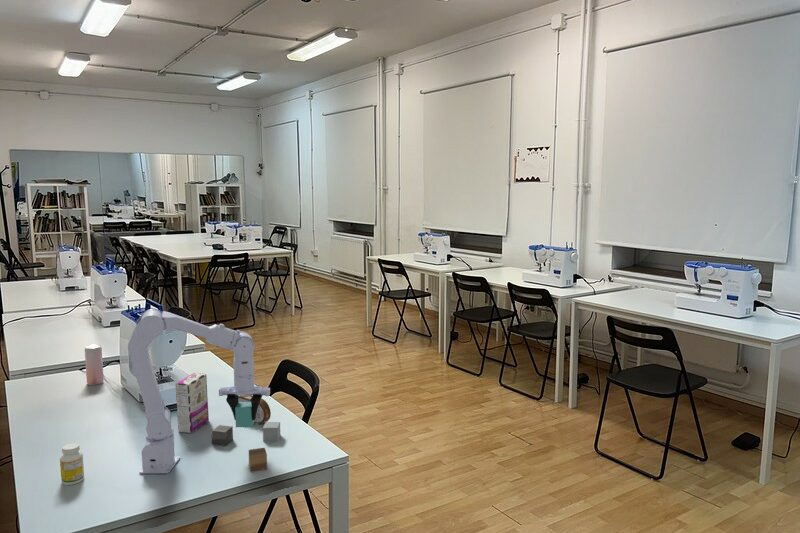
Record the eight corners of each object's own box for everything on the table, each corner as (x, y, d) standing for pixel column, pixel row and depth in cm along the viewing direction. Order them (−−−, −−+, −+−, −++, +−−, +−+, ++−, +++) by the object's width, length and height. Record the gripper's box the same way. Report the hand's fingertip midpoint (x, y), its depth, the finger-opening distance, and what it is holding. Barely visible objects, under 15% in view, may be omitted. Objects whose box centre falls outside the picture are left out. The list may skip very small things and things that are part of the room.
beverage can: (87, 381, 236) (84, 345, 234) (104, 379, 239) (101, 343, 237) (86, 386, 231) (84, 349, 229) (103, 384, 234) (101, 347, 232)
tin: (271, 424, 196) (271, 399, 195) (264, 427, 194) (264, 402, 193) (240, 414, 204) (239, 390, 203) (233, 417, 202) (232, 393, 201)
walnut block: (267, 469, 165) (266, 454, 165) (250, 472, 164) (250, 456, 163) (265, 462, 169) (264, 447, 169) (249, 464, 168) (248, 449, 167)
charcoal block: (225, 446, 179) (224, 432, 179) (212, 444, 181) (211, 430, 180) (233, 440, 184) (232, 426, 183) (220, 438, 185) (219, 424, 184)
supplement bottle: (80, 484, 156) (78, 450, 155) (58, 486, 155) (55, 451, 154) (87, 474, 161) (84, 441, 160) (65, 476, 160) (63, 442, 159)
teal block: (251, 427, 172) (250, 407, 171) (235, 427, 172) (235, 407, 171) (254, 421, 176) (254, 401, 176) (239, 421, 176) (239, 401, 176)
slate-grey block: (277, 441, 183) (277, 427, 182) (263, 441, 183) (262, 427, 182) (280, 435, 188) (280, 422, 187) (266, 435, 187) (265, 421, 187)
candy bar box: (195, 419, 200) (193, 372, 198) (209, 420, 199) (207, 373, 197) (177, 432, 189) (174, 383, 187) (191, 433, 188) (189, 384, 186)
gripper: (214, 378, 168) (216, 424, 170) (266, 378, 168) (267, 424, 170) (222, 370, 175) (223, 414, 177) (271, 371, 175) (272, 414, 177)
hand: (245, 418), depth 174 cm, fingers closed on teal block, 4 cm apart
